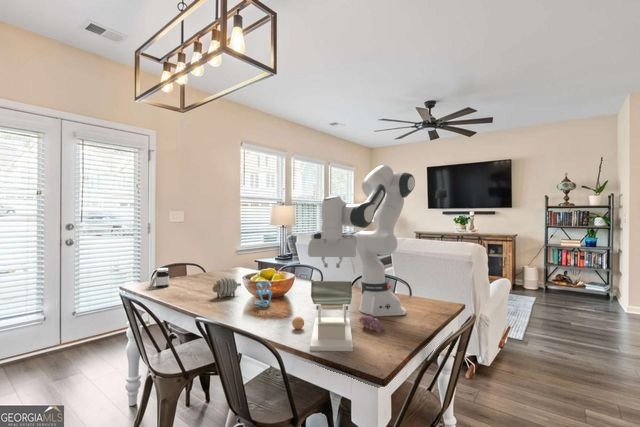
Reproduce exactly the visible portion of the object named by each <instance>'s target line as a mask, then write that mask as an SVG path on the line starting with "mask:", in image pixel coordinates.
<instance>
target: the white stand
mask: <svg viewBox="0 0 640 427" xmlns="http://www.w3.org/2000/svg"><path fill="white" fill-rule="evenodd" d="M317 310H318V313H317V315H318V316H315V318H314V324H313V329H312V334H311V339H310V343H309V351H314V352H315V351H317V352H318V351H321V352H327V351H328V352H354V343H353V337H352V336H353V335H352V329H351V328H352V327H351V321H350V320H351V319H350V317H347V311H349V306H348V305H347V304H343V317H329V316H328V317H326V316H325V317H322V308H321V304H316V311H317Z"/></svg>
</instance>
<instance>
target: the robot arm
mask: <svg viewBox="0 0 640 427" xmlns="http://www.w3.org/2000/svg"><path fill="white" fill-rule="evenodd" d="M415 186H416V180H415V177H414V175H413V174H411V173H409V172H401V171H393V168H392V167H390V166H389V165H386V164H382V165H381V164H380V165H379V166H377V167H376V168H374V169H373V170H371V171H370V172H369V173H368V174H367V175H366V177H365V178H364V179H362V182H361V190H362V193H363V194H364V195H365V196H366V197H367V199H366V200H365V201H364V202H361V203H351V204H350V203H347V202H345V201H344V200H342V197H341V196H340V195H333V196H331V195H330V196H326V197H325V198H323V200H322V203H321V212H320V213H321V216H320V218H321V221H322V223H321V226H320V227H321V230H320V231H319V230H318V231H316V232H314V233H311V234H310V238H311V240H309V243H308V248H307V255H308V257H309V258H321V261H322V264H323V268H325V269H327V268H329V265H328V262H326V258H338V260H339V261H338V262H336V265H335V266H336V269H340V268H341V263H342V261H343V258H355V257H357V256H356V255H358V258H359V261H360V265H361V282H360V291H361V297H360V298H361V299H360V304H359V306H358V307H359V308H358V311H359V312H360V313H363V314H364V315H369V316H372V317H390V316H391V317H392V316H405V315H406V314H407V309H406V308H405V307H404V306H402V302H401V299H400V298H399V297H398V296H397V295H396V294H395V293H394V292H392V291H391V290H390V289H391V288H392V286H391V284H390V283H388V282H386V267H385V265H384V263H383V262H382V261H381V260H380V259H379V256H378V255H382V256H387V255H392V254H394V253H395V252H396V250H397V249H398V248H397V247H398V239H397V237H396V235H395V233H394V229H395V226H396V224H397V222H398V220H399V217H400V215H401V213H402V211H403V208H404V205H405V198H407V197H408V196H409V195H410V194H411V193H412V192H413V190H414V188H415ZM372 221H373V222H372ZM371 223H374V225H375V226H376V227H375V229H374V230H360V231H357V232H354V233H353V234H344V233H343V227H354V228H361V229H364V228H367V227H369V226H370V225H371Z"/></svg>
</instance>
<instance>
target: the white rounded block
mask: <svg viewBox="0 0 640 427" xmlns="http://www.w3.org/2000/svg"><path fill="white" fill-rule="evenodd" d="M154 285H155V287H156V288H158V289H161V288H168V287H170V272H169V267H161V268H156V274H155V275H154V276H152V278H151V279H150V281H149V286H150V287H154Z"/></svg>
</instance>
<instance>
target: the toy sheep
mask: <svg viewBox="0 0 640 427" xmlns="http://www.w3.org/2000/svg"><path fill="white" fill-rule="evenodd" d="M241 286H242V283H238V282H237V281H236V279H235V278H233V277H226V276H225V277H222V278H220V279H217V281H216V283H213V286H212V291H213V293H217V294H216V297H217V298H220V299H223V297H224V296H225V297H228V296H232V297H235V296H236V295H235V294H236V290H237V289H238V287H241Z"/></svg>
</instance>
